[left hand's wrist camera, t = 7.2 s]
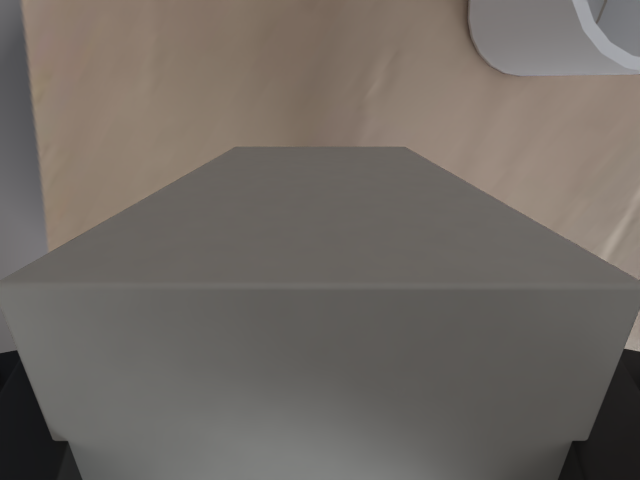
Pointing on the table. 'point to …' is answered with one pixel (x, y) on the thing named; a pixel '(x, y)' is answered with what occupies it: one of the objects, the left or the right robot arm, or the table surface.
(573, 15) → the mug
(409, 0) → the table surface
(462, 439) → the box
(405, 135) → the table surface
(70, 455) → the left robot arm
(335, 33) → the table surface
